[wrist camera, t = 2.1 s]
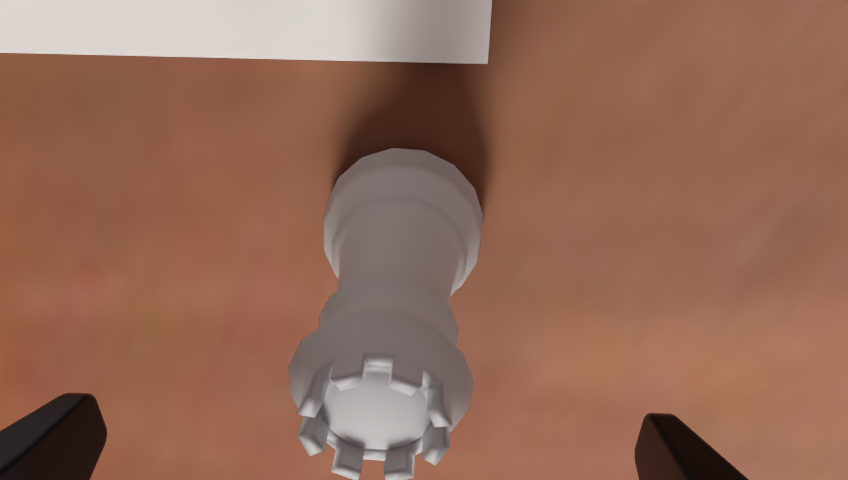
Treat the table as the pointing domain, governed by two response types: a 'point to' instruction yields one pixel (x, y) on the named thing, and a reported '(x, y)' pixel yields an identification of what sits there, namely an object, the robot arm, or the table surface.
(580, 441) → the table surface
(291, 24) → the peg board
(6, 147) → the table surface
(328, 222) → the rook chess piece
